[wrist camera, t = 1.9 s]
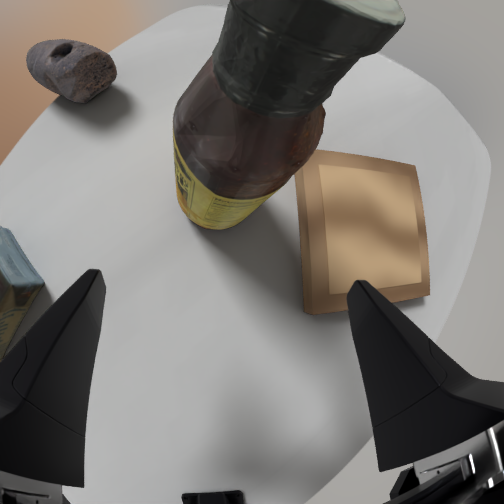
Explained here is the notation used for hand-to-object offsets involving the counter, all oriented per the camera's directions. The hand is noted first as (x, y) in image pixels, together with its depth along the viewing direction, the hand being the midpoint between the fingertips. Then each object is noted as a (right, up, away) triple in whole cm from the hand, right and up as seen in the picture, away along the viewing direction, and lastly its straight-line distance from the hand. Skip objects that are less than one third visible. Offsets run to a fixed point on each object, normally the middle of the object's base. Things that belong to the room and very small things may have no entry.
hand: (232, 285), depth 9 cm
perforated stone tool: (-20, +20, +12) cm, 30 cm away
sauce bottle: (-2, +6, +13) cm, 15 cm away
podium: (+12, +3, +16) cm, 20 cm away
